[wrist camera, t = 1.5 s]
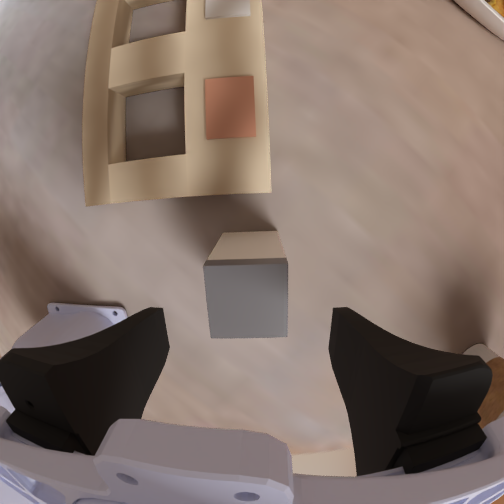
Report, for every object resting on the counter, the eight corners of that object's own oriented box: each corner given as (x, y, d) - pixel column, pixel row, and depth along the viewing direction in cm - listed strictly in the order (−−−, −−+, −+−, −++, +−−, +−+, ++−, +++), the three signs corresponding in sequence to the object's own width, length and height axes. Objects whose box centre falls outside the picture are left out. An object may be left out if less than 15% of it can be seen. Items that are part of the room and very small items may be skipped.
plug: (226, 283, 23) (210, 338, 15) (223, 232, 21) (203, 266, 14) (278, 282, 22) (287, 336, 15) (277, 230, 21) (287, 263, 14)
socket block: (105, 201, 21) (83, 207, 18) (114, -4, 16) (99, -20, 13) (269, 190, 21) (271, 192, 17) (257, -29, 15) (257, -51, 12)
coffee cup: (446, 348, 24) (523, 442, 10) (498, 323, 23) (576, 392, 9) (436, 401, 26) (488, 488, 12) (486, 376, 25) (543, 446, 11)
